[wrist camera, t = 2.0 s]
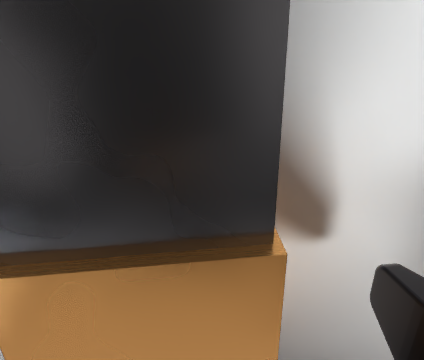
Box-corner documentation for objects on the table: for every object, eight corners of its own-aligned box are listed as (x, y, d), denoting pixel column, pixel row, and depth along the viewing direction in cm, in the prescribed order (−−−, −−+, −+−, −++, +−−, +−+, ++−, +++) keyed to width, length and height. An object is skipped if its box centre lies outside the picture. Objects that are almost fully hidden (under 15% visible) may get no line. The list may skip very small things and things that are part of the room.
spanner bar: (231, 431, 12) (255, 600, 8) (129, 444, 11) (114, 624, 8) (234, -122, 5) (339, -301, 2) (6, -123, 5) (-282, -334, 2)
